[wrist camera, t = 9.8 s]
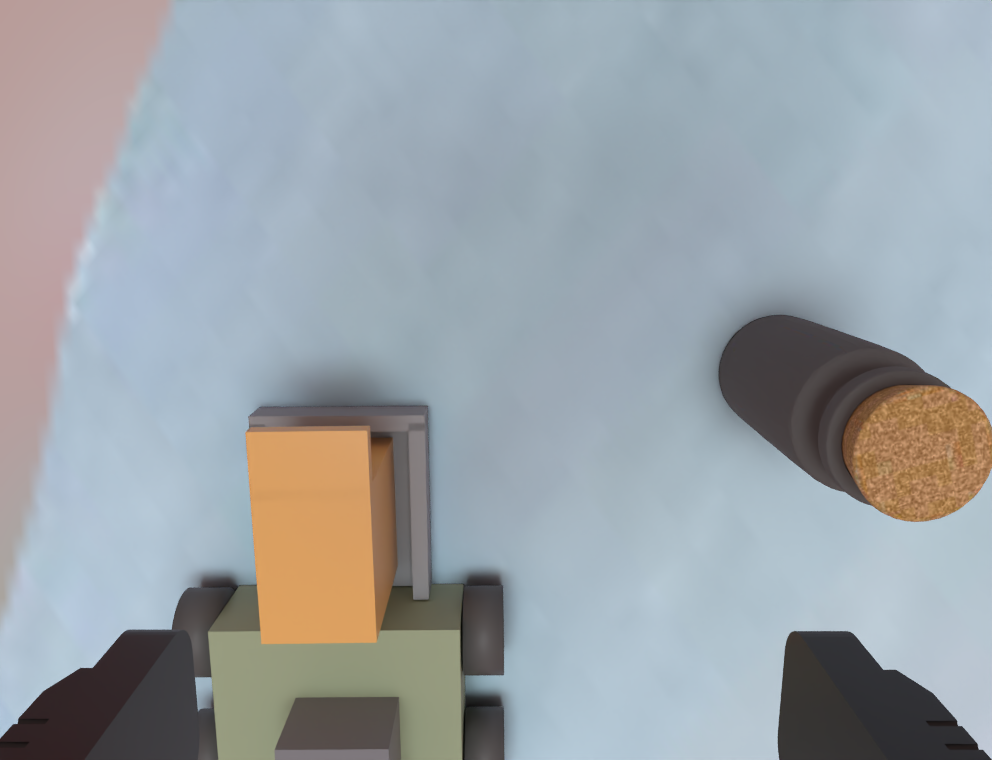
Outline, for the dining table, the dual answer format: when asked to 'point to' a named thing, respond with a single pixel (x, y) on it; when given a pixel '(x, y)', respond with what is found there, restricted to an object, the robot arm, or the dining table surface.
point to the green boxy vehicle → (355, 644)
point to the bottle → (858, 417)
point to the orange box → (322, 532)
